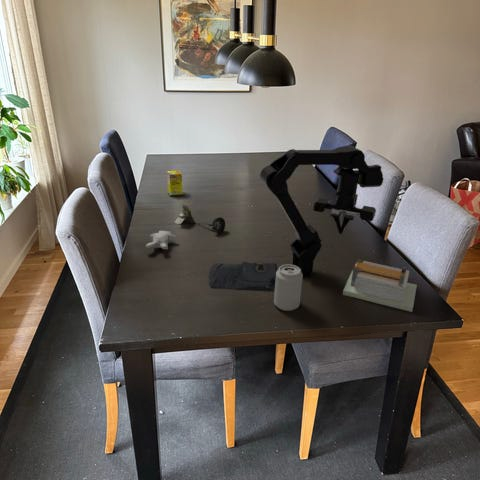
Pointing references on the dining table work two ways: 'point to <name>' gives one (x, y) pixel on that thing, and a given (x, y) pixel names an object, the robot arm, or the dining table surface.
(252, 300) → the dining table surface
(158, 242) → the bunny figurine
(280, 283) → the can
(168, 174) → the supplement box
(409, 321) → the dining table surface
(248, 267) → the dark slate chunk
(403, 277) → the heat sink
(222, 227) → the artificial flower
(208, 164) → the dining table surface
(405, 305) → the board
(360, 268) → the strap
